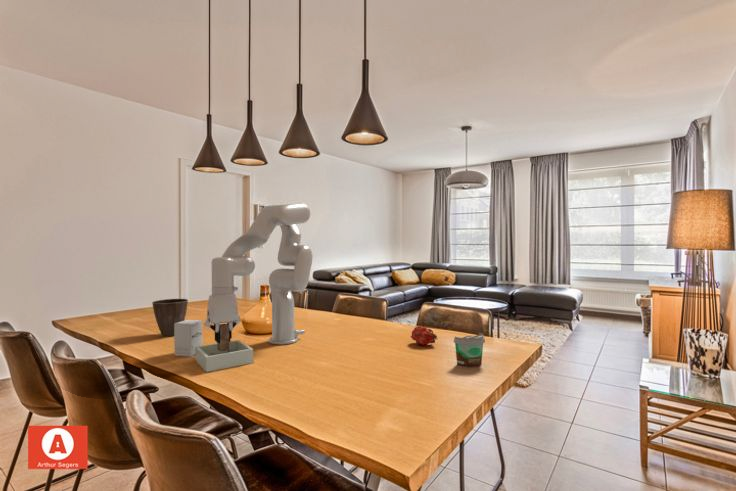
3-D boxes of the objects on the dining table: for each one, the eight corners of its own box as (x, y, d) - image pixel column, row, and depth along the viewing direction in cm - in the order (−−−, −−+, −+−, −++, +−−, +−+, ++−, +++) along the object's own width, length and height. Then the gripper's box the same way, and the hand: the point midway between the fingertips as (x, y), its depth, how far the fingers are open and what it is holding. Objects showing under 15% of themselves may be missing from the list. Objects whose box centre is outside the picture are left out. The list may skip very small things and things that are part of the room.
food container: (465, 370, 128) (465, 340, 128) (453, 365, 133) (453, 336, 133) (493, 364, 134) (492, 336, 134) (480, 359, 139) (480, 332, 139)
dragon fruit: (411, 345, 165) (435, 354, 157) (403, 337, 159) (428, 346, 151) (419, 327, 168) (443, 335, 160) (412, 319, 162) (436, 327, 154)
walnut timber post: (226, 348, 142) (225, 323, 142) (229, 350, 138) (228, 325, 139) (217, 349, 140) (217, 324, 140) (220, 351, 137) (220, 326, 137)
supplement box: (191, 356, 146) (190, 323, 146) (173, 355, 147) (173, 323, 147) (203, 351, 153) (202, 319, 153) (186, 350, 154) (186, 319, 154)
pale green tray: (238, 352, 151) (238, 339, 151) (253, 362, 138) (253, 349, 138) (195, 360, 141) (195, 346, 141) (206, 372, 128) (206, 357, 128)
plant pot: (149, 334, 181) (148, 300, 181) (182, 329, 191) (182, 297, 191) (157, 340, 170) (157, 304, 170) (193, 334, 180) (192, 300, 180)
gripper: (241, 288, 147) (242, 336, 147) (196, 292, 137) (196, 343, 137) (248, 290, 141) (248, 340, 141) (201, 294, 131) (201, 347, 131)
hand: (223, 341), depth 139 cm, fingers closed on walnut timber post, 2 cm apart
